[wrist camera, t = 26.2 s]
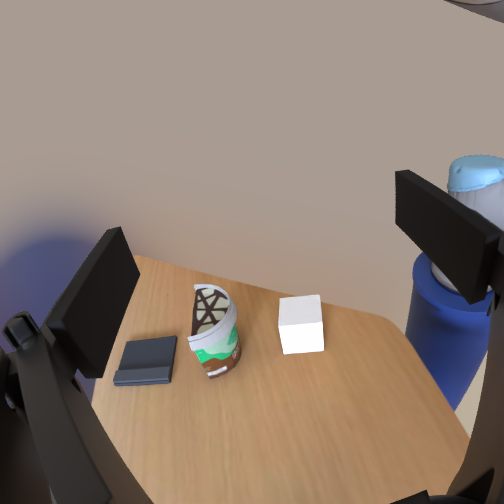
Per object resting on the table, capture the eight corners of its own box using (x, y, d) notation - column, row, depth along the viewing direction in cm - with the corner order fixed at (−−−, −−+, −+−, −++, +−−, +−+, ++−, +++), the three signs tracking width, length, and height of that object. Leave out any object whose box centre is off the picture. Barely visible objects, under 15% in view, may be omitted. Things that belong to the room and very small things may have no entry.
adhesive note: (284, 326, 50) (279, 298, 47) (321, 322, 49) (319, 294, 46) (283, 354, 45) (278, 326, 42) (324, 350, 43) (322, 322, 41)
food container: (251, 380, 41) (235, 332, 37) (209, 386, 42) (186, 340, 37) (246, 322, 52) (232, 275, 47) (211, 329, 52) (193, 283, 47)
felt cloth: (177, 337, 52) (175, 333, 51) (170, 383, 43) (167, 378, 43) (127, 343, 52) (125, 339, 52) (115, 386, 44) (112, 382, 43)
